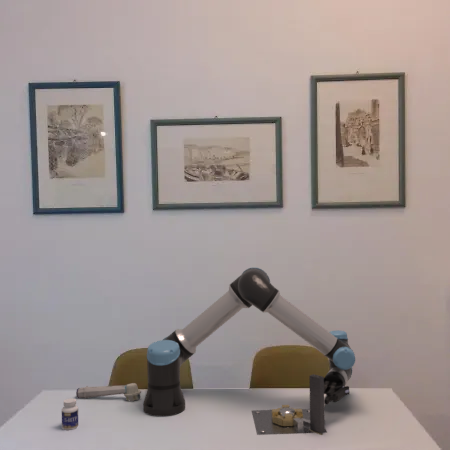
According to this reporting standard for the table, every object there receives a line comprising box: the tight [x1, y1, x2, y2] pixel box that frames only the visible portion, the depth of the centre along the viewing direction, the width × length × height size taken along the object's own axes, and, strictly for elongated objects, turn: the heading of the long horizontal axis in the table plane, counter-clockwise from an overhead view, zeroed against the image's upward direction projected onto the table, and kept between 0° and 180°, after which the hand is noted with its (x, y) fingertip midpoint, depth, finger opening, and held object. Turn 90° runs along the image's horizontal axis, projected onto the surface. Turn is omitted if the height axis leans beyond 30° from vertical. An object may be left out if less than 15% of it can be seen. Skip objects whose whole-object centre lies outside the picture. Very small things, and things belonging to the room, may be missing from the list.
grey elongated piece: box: [75, 382, 142, 402], centre depth 193 cm, size 5×7×25 cm
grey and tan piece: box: [271, 373, 326, 434], centre depth 162 cm, size 19×10×17 cm, turn 45°
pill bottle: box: [61, 397, 79, 431], centre depth 166 cm, size 5×5×9 cm
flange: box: [251, 407, 328, 436], centre depth 165 cm, size 22×22×4 cm
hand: (319, 405), depth 158 cm, fingers closed
